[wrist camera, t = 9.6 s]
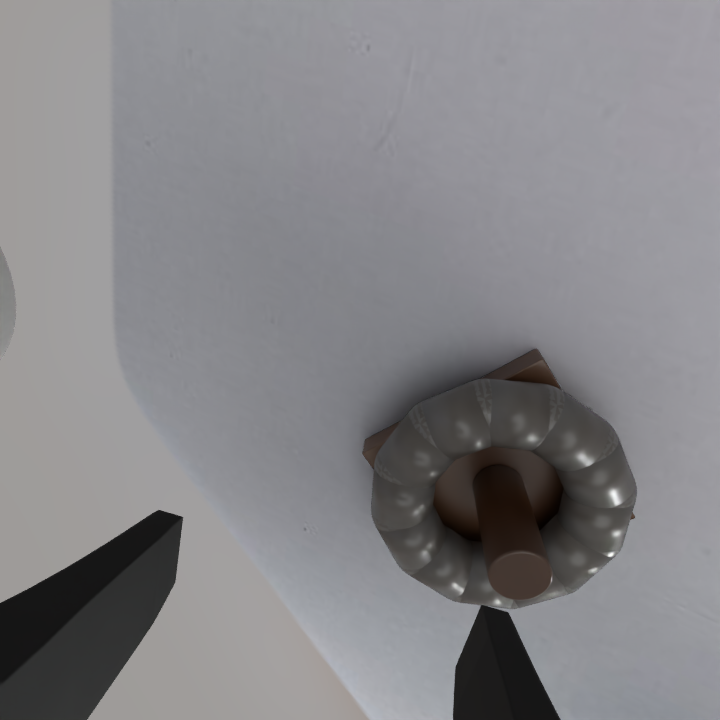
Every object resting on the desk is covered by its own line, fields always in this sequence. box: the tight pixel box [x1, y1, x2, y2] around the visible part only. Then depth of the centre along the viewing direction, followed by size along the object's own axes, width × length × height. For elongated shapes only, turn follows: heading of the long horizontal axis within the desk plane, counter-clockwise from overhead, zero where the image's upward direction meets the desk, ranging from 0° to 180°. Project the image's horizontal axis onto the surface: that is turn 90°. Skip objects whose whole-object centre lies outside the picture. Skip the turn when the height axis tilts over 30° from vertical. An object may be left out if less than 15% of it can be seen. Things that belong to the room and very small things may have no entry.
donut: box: [371, 379, 637, 609], centre depth 20 cm, size 10×10×2 cm
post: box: [362, 349, 635, 600], centre depth 19 cm, size 8×8×6 cm
